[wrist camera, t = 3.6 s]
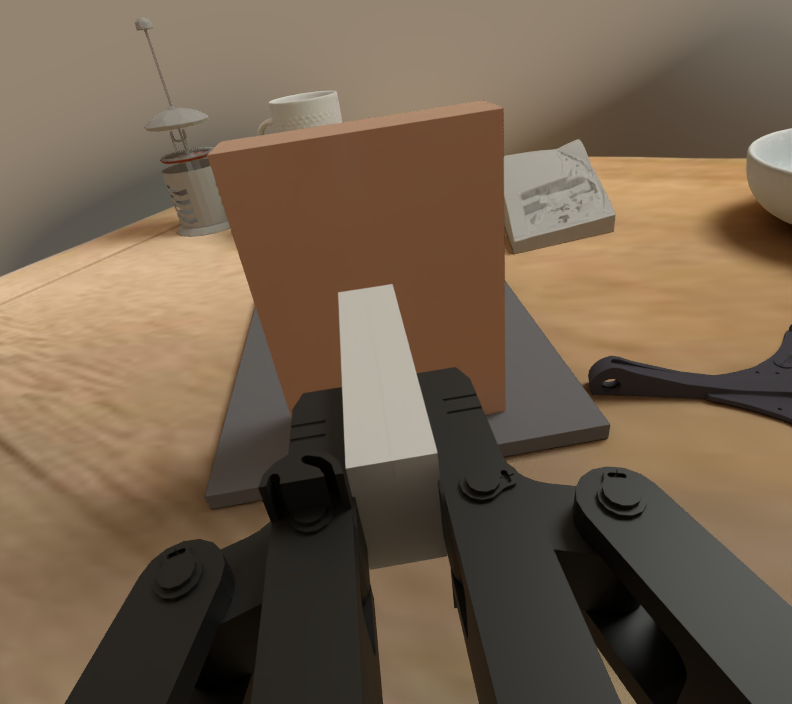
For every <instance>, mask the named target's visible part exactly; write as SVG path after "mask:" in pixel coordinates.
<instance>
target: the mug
mask: <svg viewBox="0 0 792 704" xmlns="http://www.w3.org/2000/svg"><path fill="white" fill-rule="evenodd" d="M269 107H270V112H271V117H272V118H269V119H267V120H265V121H263V122H262V124H261V125H260V126H259V128H258V131H257V136H261V135H264V131H265V129H266V127H267V126H274V129H275V133H280V132H286V131H292V130H299V129H305V128H311V127H318V126H324V125H330V124H337V123H342V119H341V112H340V106H339V101H338V95H337V92H336V91H319V92H310V93H303V94H297V95H292V96H287V97H282V98H279V99H275V100H272V101H270V102H269Z"/></svg>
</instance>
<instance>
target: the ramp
mask: <svg viewBox="0 0 792 704" xmlns="http://www.w3.org/2000/svg"><path fill="white" fill-rule="evenodd" d="M614 224H615V212H614V210H613V207H612V205H611V202H610V200H609V198H608V196H607V193H606V192H605V190H604V188H603V186H602V184H601V182H600V180H599V178H598V176H597V174H596V172H595V171H594V169H593V167H592V165H591V163H590V161H589V159H588V156H587V153H586V150H585V148H584V146H583V144H582V142H581V141H580V140H576V141H573V142H571V143H569V144H566V145H564V146H562V147H560V148H559V149H555V150H542V151H534V152H526V153H520V154H514V155H508V156H504V226H505V228H506V231H507V234H508V238H509V240H510V243H511V246H512V250H513V252H514V254H517V253H522V252H526V251H531V250H535V249H539V248H543V247H548V246H552V245H556V244H561V243H565V242H570V241H574V240H578V239H583V238H588V237H592V236H596V235H600V234H605V233H610V232H614Z"/></svg>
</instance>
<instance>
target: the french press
mask: <svg viewBox="0 0 792 704" xmlns="http://www.w3.org/2000/svg"><path fill="white" fill-rule="evenodd" d="M135 24H136V25H135V26H136V29H137V30H144V31H145V34H146V37H147V39H148V42H149V45H150V48H151V51H152V54H153V57H154V60H155V63H156V66H157V69H158V72H159V75H160V78H161V81H162V83H163V86H164V89H165V92H166V95H167V98H168V101H169V104H170V107H169V108H168V110H165V111H163V112H161V113H159V114H157V115H156V116H155V117H153V118H152V119H151V120H150V121H149V122H148V124H147V125H146V126H145V127H144V128H145V129H146V130H147V131H154V132H156V131H157V132H159V131H167V130H173V129H178V130H179V133H180V136H181V140H175V138H174V136H173V134H172V131H170V136H171V138H172V142H173V145H174V148H175V151H176V153H171V154H168V156H167V155H165V156H164V157H162V158H161V160H160V161H161V162H162V163H165V164H177V165H174V166H171V167H169V168H166V169H165V170H163V171H162V174H163V177H164V180H165V183H167V187H168V190H169V188H172V189H173V190H177V191H178V192H171V191H170V190H169V193H170V194H171V198H172V201H173V202H174V206H175V209H176V211H177V214H178V217H179V220H180V222H181V224H180V226H179V228H178V231H177V234H179V235H181V236H189V237H192V236H203V235H208V234H213V233H217V232H220V231H223V230H226V229H229V228H230V225H229V222H228V219H227V216H226V213H225V210H224V206H223V203H222V200H221V197H220V194H219V191H218V188H217V185H216V181H215V178H214V175H213V172H212V169H211V166H210V163H209V160H208V159H203V158H206V157H207V155H208V154H209V153H210V152H211V151H212V150H213V148H211V147H207V148H205V147H202V149H201V148H200V149H199V148H197V149H193V150H192V149H191V150H189V147H188V144H187V140H186V133H185V130H184V129H182V133H183V137H184V139H183V137H182V134H181V131H180V128H184V127H189V126H194V125H197V124H201V123H204V122H206V121H208V116H207V115H206V114H204V113H202V112H200V111H197V110H193V109H189V108H176V107H174V106H172V104H171V101H170V98H169V95H168V92H167V89H166V87H165V83H164V80H163V78H162V75H161V72H160V69H159V66H158V63H157V60H156V57H155V54H154V51H153V48H152V45H151V42H150V39H149V36H148V33H147V29H151V28H153V25H152V23H151V21H150V20H148V19H147V18H139V19H137V20H136V22H135ZM174 141H175V142H181V141H182V142H183V145H184V148H185V151H184V150H183V151H181V152H180V151H179V152H180V153H179V152H178V151H177V148H176V145H175V143H174ZM184 141H185V142H184ZM185 144H186V145H185ZM186 147H187V148H186ZM199 159H201V160H199ZM187 162H191V164H192V166H193V169H194V171H189V172H188V169H187V167H186V163H187ZM178 163H180V164H178ZM173 197H174V198H175V199H177V200H180V201H174V200H173ZM176 206H177V207H178V208H179V209H182V210H178V209H177V208H176Z"/></svg>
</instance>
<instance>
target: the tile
mask: <svg viewBox="0 0 792 704" xmlns="http://www.w3.org/2000/svg"><path fill="white" fill-rule="evenodd" d="M503 115H504V114H503V108H502V107H499V106H497V105H494V104H492V103H489V102H487V101H484V100H482V101H476V102H469V103H463V104H457V105H450V106H445V107H438V108H432V109H426V110H419V111H413V112H406V113H400V114H394V115H387V116H381V117H375V118H368V119H362V120H356V121H349V122H343V123H337V124H330V125H324V126H318V127H311V128H305V129H299V130H292V131H286V132H280V133H273V134H267V135H261V136H254V137H249V138H242V139H236V140H229V141H223V142H220V143H219V144H218V145H217V146H216V147H215V148H214V149H213V150H212V151H211V152H210V153H209V154H208V155H207V157H208V160H209V163H210V166H211V169H212V172H213V175H214V178H215V181H216V185H217V188H218V191H219V194H220V197H221V200H222V203H223V206H224V210H225V213H226V216H227V219H228V222H229V225H230V228H231V231H232V235H233V238H234V241H235V244H236V247H237V250H238V253H239V256H240V259H241V263H242V266H243V269H244V272H245V275H246V278H247V281H248V284H249V288H250V291H251V294H252V297H253V300H254V303H255V306H256V309H257V313H258V316H259V319H260V322H261V325H262V328H263V331H264V334H265V338H266V341H267V344H268V347H269V350H270V353H271V356H272V359H273V362H274V366H275V369H276V372H277V375H278V378H279V381H280V384H281V387H282V391H283V394H284V397H285V400H286V403H287V406H288V409H289V412H290V416H291V419H292V409H293V408H294V406H295V405H296V403H297V402H298V400H299V398H300V397H301V395H302V394H303V393H307V392H314V391H320V390H326V389H332V388H338V387H342V371H341V348H340V325H339V301H338V292H345V291H351V290H358V289H364V288H371V287H377V286H383V285H390V284H393V288H394V291H395V295H396V299H397V303H398V306H399V310H400V314H401V318H402V321H403V325H404V329H405V333H406V336H407V340H408V344H409V348H410V351H411V355H412V359H413V363H414V366H415V370H416V373H421V372H427V371H433V370H440V369H446V368H452V367H456V368H458V369H459V370H460V371H461V372H463V373H464V374H465V375H466V376H468V377H469V378H470V379H471V382H472V384H473V387H474V389H475V391H476V394H477V397H478V398H479V401H480V403H481V405H482V409H483V410H484V413H485V415H486V414H492V413H498V412H503V411H506V387H505V249H504V128H503V127H504V122H503V121H504V118H503V117H504V116H503Z"/></svg>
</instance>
